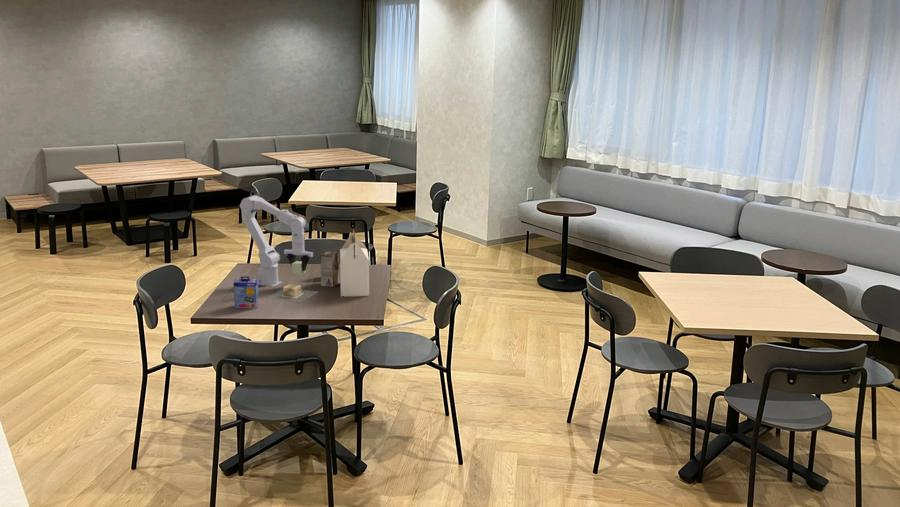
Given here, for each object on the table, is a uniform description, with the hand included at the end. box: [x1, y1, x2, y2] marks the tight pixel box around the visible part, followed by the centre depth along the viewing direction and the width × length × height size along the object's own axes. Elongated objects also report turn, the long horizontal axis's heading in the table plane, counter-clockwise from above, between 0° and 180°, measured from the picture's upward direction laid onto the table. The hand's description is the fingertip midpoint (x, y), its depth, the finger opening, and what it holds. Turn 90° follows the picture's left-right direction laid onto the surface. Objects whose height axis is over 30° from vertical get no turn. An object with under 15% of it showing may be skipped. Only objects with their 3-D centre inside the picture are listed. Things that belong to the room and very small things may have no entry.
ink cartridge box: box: [233, 275, 260, 309], centre depth 328 cm, size 10×6×14 cm, turn 95°
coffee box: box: [319, 250, 340, 288], centre depth 363 cm, size 9×6×16 cm
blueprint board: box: [265, 288, 319, 304], centre depth 346 cm, size 18×18×1 cm
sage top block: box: [291, 260, 307, 276], centre depth 358 cm, size 5×5×5 cm
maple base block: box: [282, 283, 302, 297], centre depth 345 cm, size 6×6×4 cm
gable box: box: [339, 229, 370, 297], centre depth 355 cm, size 22×13×28 cm, turn 8°
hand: (298, 269), depth 358 cm, fingers closed on sage top block, 5 cm apart
